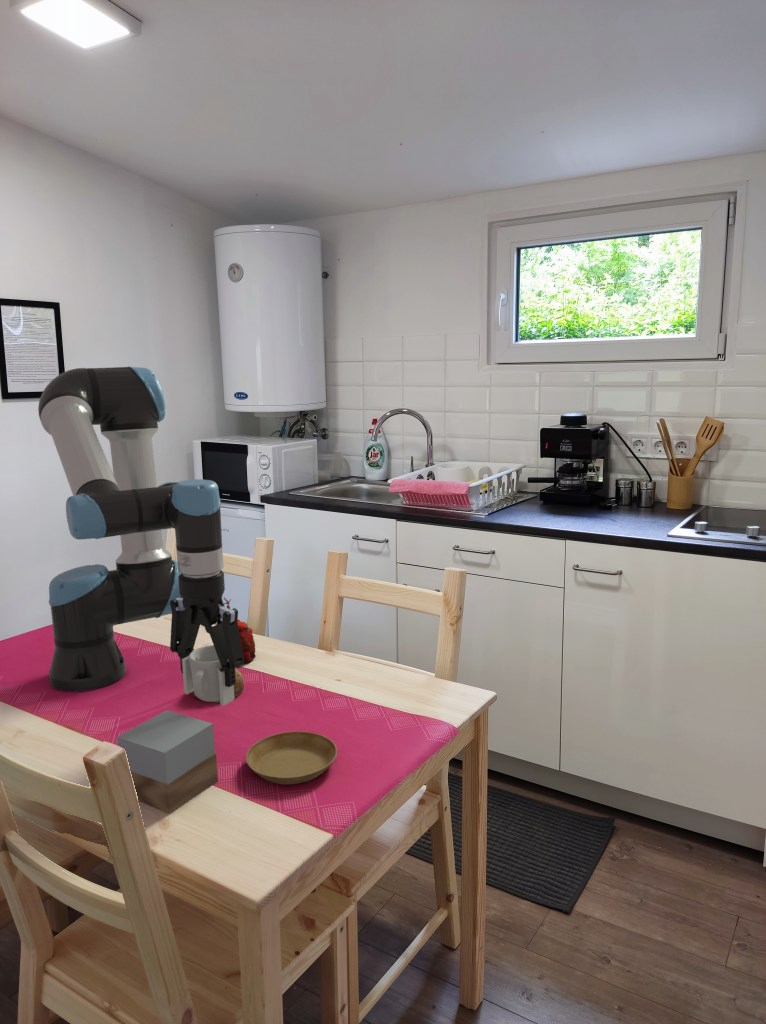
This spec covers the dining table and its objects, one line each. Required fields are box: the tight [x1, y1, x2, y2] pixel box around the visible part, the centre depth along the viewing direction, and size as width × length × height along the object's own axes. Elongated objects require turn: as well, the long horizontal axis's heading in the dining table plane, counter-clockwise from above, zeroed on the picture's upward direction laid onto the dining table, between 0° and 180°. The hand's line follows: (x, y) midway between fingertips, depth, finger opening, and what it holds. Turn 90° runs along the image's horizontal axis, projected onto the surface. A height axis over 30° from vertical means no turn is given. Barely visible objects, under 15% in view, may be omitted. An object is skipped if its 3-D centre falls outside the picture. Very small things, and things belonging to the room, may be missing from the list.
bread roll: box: [192, 667, 245, 704], centre depth 149 cm, size 10×10×8 cm
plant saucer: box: [245, 730, 338, 785], centre depth 121 cm, size 15×15×3 cm
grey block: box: [116, 709, 216, 784], centre depth 114 cm, size 10×10×5 cm
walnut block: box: [131, 752, 219, 815], centre depth 115 cm, size 10×10×5 cm
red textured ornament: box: [223, 597, 256, 664], centre depth 164 cm, size 8×7×15 cm
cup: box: [189, 644, 229, 702], centre depth 129 cm, size 11×8×8 cm
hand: (209, 696), depth 130 cm, fingers closed on cup, 8 cm apart
